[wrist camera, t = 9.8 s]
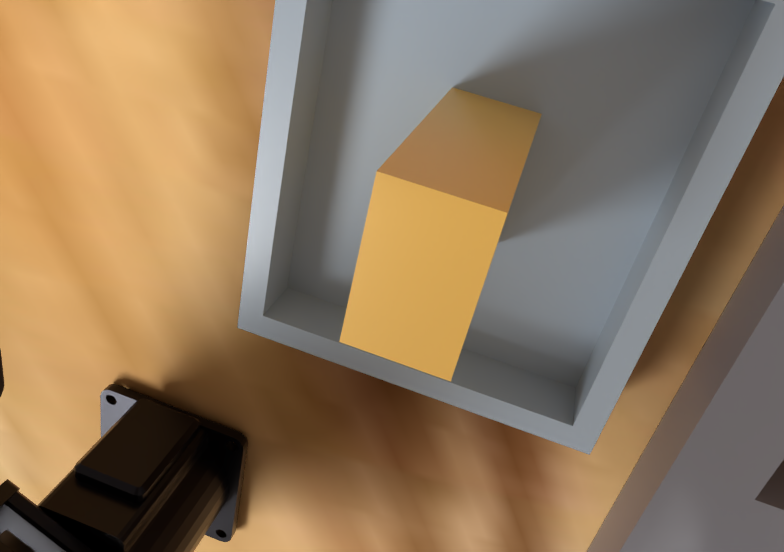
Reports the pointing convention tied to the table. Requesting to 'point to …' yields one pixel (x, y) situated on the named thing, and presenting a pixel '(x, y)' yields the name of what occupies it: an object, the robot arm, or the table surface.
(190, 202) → the table surface
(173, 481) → the robot arm
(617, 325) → the tray
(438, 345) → the block
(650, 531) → the fuse holder
